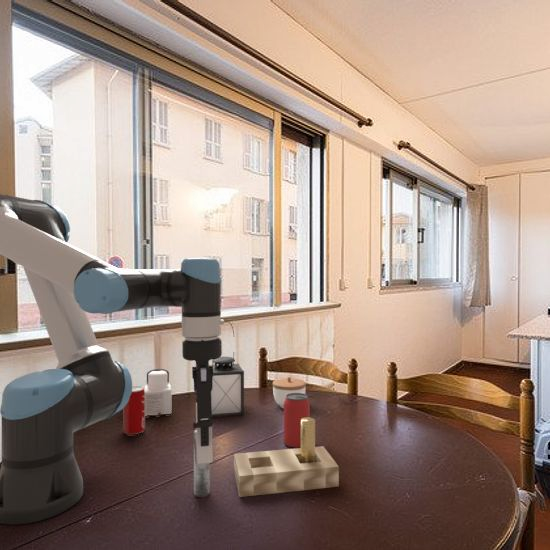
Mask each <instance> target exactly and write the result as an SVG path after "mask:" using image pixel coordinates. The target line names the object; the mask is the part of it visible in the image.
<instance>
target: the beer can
mask: <svg viewBox="0 0 550 550" xmlns="http://www.w3.org/2000/svg"><path fill="white" fill-rule="evenodd" d="M310 405H311V404H310V400H309V396H308V395H307V394H306V393H305V394H302V393H290V394H287V395H286V399H285V401H284V409H283V443H284V444H285V446H287V447H288V448H291V449H296V448H301V419H302V418H305V417H309V418H311V406H310Z"/></svg>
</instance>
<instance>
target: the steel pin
mask: <svg viewBox="0 0 550 550" xmlns="http://www.w3.org/2000/svg"><path fill="white" fill-rule="evenodd" d="M210 474H211V473H210V463H201V464H197V430H196V429H195V430H194V431H193V495H194V496H195V497H197V498H198V497H199V498H204V497H207V496H208V495H209V494H210V493H211V492H210V490H211V489H210V488H211V487H210Z"/></svg>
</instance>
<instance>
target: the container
mask: <svg viewBox="0 0 550 550" xmlns="http://www.w3.org/2000/svg"><path fill="white" fill-rule="evenodd" d="M144 391H145V416H147V415H158V414H171V413H172V404H173V403H172V402H173V401H172V399H173V398H172V397H173V396H172V394H173V393H172V387H171V383H170V372H169V370H167V369H164V368H156V369H155V368H154V369H152V370H149V371H147V373H146V385H145V386H144ZM172 414H173V413H172ZM172 414H171V415H172Z"/></svg>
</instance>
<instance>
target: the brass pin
mask: <svg viewBox="0 0 550 550" xmlns="http://www.w3.org/2000/svg"><path fill="white" fill-rule="evenodd" d="M315 447H316V419H315V418H313V417H310V418H309V417H305V418H302V419H301V464H302V463H312V462H315Z"/></svg>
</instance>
